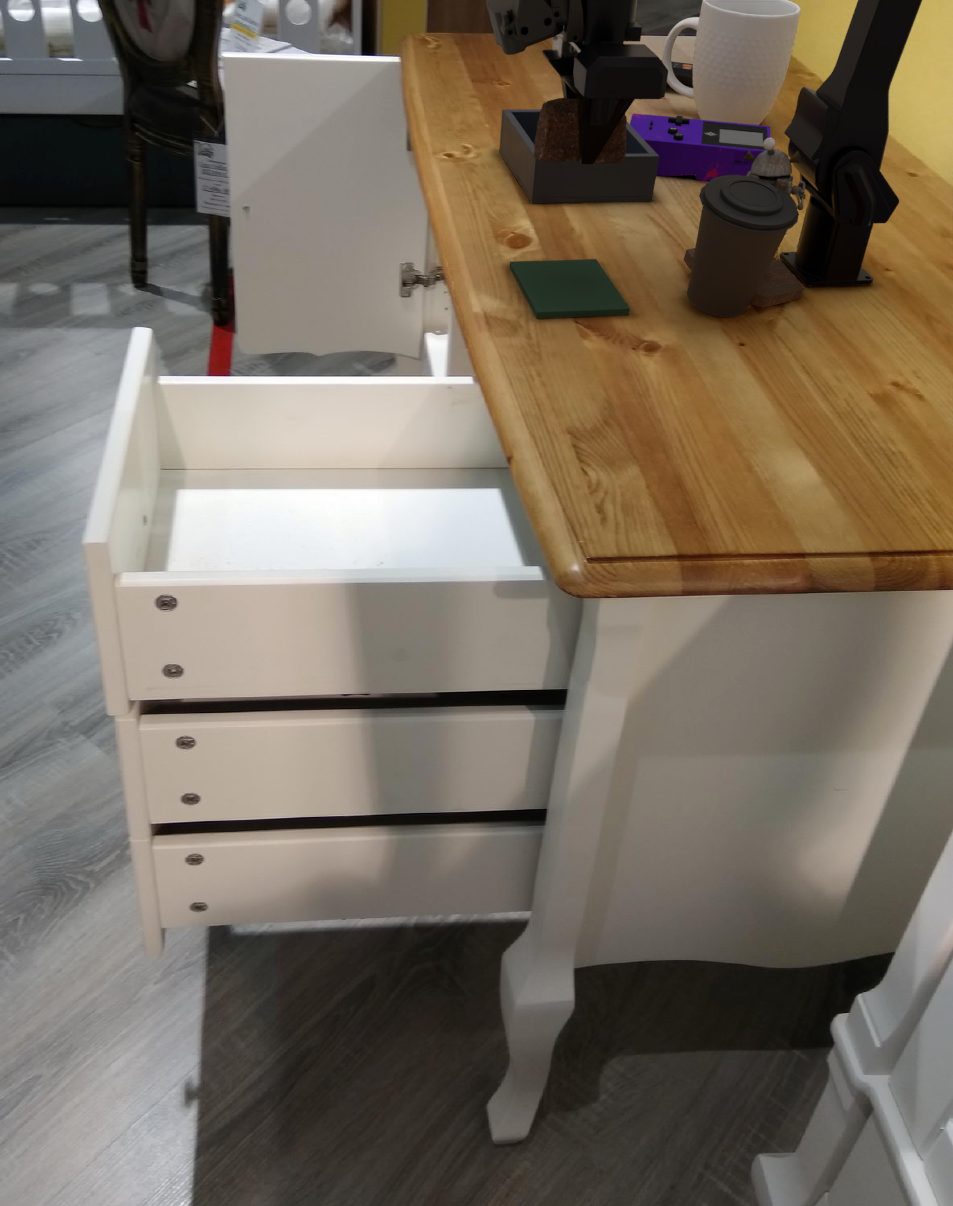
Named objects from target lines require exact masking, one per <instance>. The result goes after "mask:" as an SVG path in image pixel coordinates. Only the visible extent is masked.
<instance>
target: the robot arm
mask: <svg viewBox="0 0 953 1206" xmlns="http://www.w3.org/2000/svg"><path fill="white" fill-rule="evenodd" d="M922 3H923V0H857V2H856V5H855V8H854V11H853V14H852V17H851V19H850V22H849V25H848V28H847V30H846V34H845V37H844V40H843V42H842V45H841V48H840V51H839V54H838V56H837V60H836V63H835V66H834V67H833V69H832V71H831V73H830V74H829V75H828V76H827V78H826V79H825V80H824V81H823V82H822V83H821V85H820V86H819V87H818V88H817V89H816V90H814V89H813V88H809V87H806V86H803V87H801V89H800V91H799V93H798V95H797V101H796V106H795V111H794V115H793V117H792V119H791V122H790V123H789V125H788V126H787V128H786V129H785V130H784V135H786V137H787V138H789V141H788V146H787V155H788V158H789V159H791V158H792V157H793V156H794V155H795V153H796V151H798V152H799V154H800V157H801V161H802V164H800V163H792V166H793V167H794V168H795V170H796V171H798V172H799V179H800V180H801V181H804V182H805V191H807V193H809V194H810V195H809V199H808V200H809V201H808V204H807V207H806V209H805V214H804V218H803V221H802V226H801V230H800V235H799V239H798V242H797V246H796V251H782V252H780V256H779V260H780V261H782V262H783V263H784V264H785V266H786V267H787V268H788V269H789V270H790V271H791V272H793V274H794V275H796V277H798V278H799V280H800V281H801V282H802V283H803V284H804V285H806V286H807V287H833V286H834V287H838V286H865V285H866V286H867V285H872V284H873V281H874V277H873V276H872V275H871V274H870V273H868V271H866V270H865V269H864V268H863V267H862V266H863V263H864V258H865V255H866V252H867V250H868V249H867V248H868V245H869V241H870V238H871V235H872V231H873V227H874V224H886V223H888V221H889V220H890V218H891V217H892V216H893V213H894V212H895V210H896V208H897V207H898V206H899V203H900V198H899V197H898V195H897V194H896V192H895V191H894V189H893V188H892V187H891V185H890V184H889V182H888V180H887V179H886V178H885V176H884V175H883V173H882V172H881V168H882V164H883V163H882V162H883V159H884V156H885V150H886V146H887V142H888V137H889V133H890V89H891V84H892V82H893V80H894V76H895V74H896V71H897V69H898V66H899V63H900V61H901V58H902V55H903V53H904V51H905V48H906V45H907V42H908V40H909V38H910V34H911V31H912V29H913V26H914V24H915V22H916V19H917V16H918V13H919V10H920V7H921V5H922ZM485 4H486V8H487V12H488V15H489V19H490V23H491V27H492V31H493V35H494V39H495V42H496V45H499V47H500V48H501V50H502V52H503V54H504V55H507V56H512V55H513V56H514V55H517V54H520V53H522V52H525V51H526V49H527V48H528V47H530V46H533V45H536V44H539V43H541V42H544V41H546V40H549V39H551V38H552V45H551V49H550V48H549V49H542V50H541V53H542V56H543V57H544V58H545V59H546V60H547V62H548V63H549V64H550V65H551V67H552V68H553V69H554V70H555V72H556V73H557V74H558V75H559V78H560V82H561V89H562V95H563V97H562V98H564V97H566V98H569V99H578V125H579V151H580V162H581V163H582V164H583V165H591V164H594V163H595V161H596V159H597V158H598V156H599V155H600V153H601V151H602V150H603V148H604V146H605V145H606V143H607V141H608V140H609V138H610V136H611V135H612V133H613V131H614V130H615V128H616V127H617V125H618V123H619V122H620V120H621V119H622V117H623V116H624V114H625V115H626V113H627V111H628V110H629V108H630V107H631V105H632V104H633V102H634V101H635V100H661V99H662V98H665V96H666V90H667V89H666V88H667V84H666V83H667V77H668V69H667V68H666V67H665V65H664V64H663V62H662V61H661V60H662V59H661V58H660V57H659V56H658V55H657V54H656V53H655V52H654V51H653V50H652V49H651V48H650V47H648V46H647V45H646V44H644V43H625V42H641V40H642V31H643V27H642V26H641V25H640V24H639V23H638V22H637V21H636V14H637V8H638V7H637V5H638V0H485ZM800 180H799V181H800Z"/></svg>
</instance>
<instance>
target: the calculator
mask: <svg viewBox="0 0 953 1206" xmlns="http://www.w3.org/2000/svg"><path fill="white" fill-rule="evenodd" d="M660 60H661V61H662V59H660ZM671 64H672V70H673V73H674V75H675V77H676V78H677V80H678V81H679V82H680V83H681V84H683V85H685V86H687V87H689V88H693V63H687V62H679V61H672V60H671ZM666 85H669V84H668V83H666Z"/></svg>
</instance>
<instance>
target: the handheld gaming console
mask: <svg viewBox="0 0 953 1206" xmlns="http://www.w3.org/2000/svg"><path fill="white" fill-rule="evenodd" d="M629 124H630V125H631V126H632V127H633V128H634V130H635V131H636V132H637V133H638V134H639V135H640V136H641V137H642V138H643V139H644V140H645V141H646V143H647V144H648V145H649V146H650V147H651V148H652V149H653V150H654V151H655V152H656V153H657V154H658V155H659V160H658V167H657V173H656V176H661V177H679V176H694V178H695V180H697V181H699V182H704V183H708V182H709V181H711V180H712V179H714V178H716V177H720V176H725V175H742V176H746V175H747V174H748V172H749V171H751V167H752V164H753V162H752V161H744V162H743V160H744V158H745V156H746V154H747V152H748V151H749V149H750V152H751V154H752V155H753V157H754V158H756V157H757V156H758V155H759V154H760V153H762V152H764V151H766V150H765V149H764V147H763V142H764V140H766V139H767V138H772V137H771V136H772V135H771V126H769V125H760V124H759V125H750V124H740V123H729V122H719V121H708V120H701V119H697V118H687V117H686V118H685V117H683V115H676V116H667V115H666V116H665V115H655V114H643V113H632V114H631V118H630V122H629Z"/></svg>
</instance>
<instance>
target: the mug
mask: <svg viewBox="0 0 953 1206" xmlns="http://www.w3.org/2000/svg"><path fill="white" fill-rule="evenodd" d="M801 10H802V9H801V7H800V5H798V4H797V3H796V2H794V1H791V0H702V3H701V7H700V12H699V16H692V17H687V18H684V19H682V20H681V21H679V22H678V23H676V24H675V25H674V26H673V27H672V29H670V31H669V33H668V34H667V37H666V39H665V41H664V45H663V49H662V53H661V60H662V62H663V64H664V65H665V67H666V68H667V69H668V77H667V83H668V84H667V85H668V86H669V87H670V88H671V89H673V90H674V91H675V92H676V93H678V94H680V96H683V97H685V98H687V99H690V100H693V101H694V104H695V108H696V112H697V114H698V117H699V120H708V121H719V122H729V123H740V124H750V125H760V124H762V122H763V121H764V119H766V117H767V116H768V115H769V113H770V111H771V109H772V108H773V106H774V104H775V103H776V100H777V99H778V98H779V97H778V96H779V93H780V92H781V90H782V86H783V85H784V81H785V79H786V75H787V72H788V70H789V66H790V61H791V58H792V53H793V49H794V46H795V41H796V35H797V33H798V27H799V26H798V25H799V21H800V17H801V13H802V12H801ZM688 28H689V29H690V28H691V29H693V30H695V31H696V34H695V35H696V36H695V40H694V41H695V42H694V51H693V57H692V60H693V61H692V62H693V63H692V64H693V87H689V86H685V85H683V84H681V83H680V82H679V81H678V80H677V78H676V77H675V75H674V73H673V70H672V64H671V61H672V53H673V49H674V45H675V42H676V39H677V37H678V36H679V34H680V33H681V32H682V31H683V30H685V29H688Z"/></svg>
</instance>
